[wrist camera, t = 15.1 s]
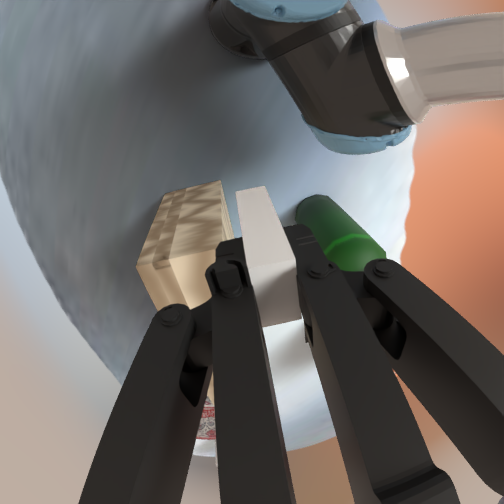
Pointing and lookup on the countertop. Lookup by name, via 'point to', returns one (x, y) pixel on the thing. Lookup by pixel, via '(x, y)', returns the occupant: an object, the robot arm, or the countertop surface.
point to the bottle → (338, 233)
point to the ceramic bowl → (207, 422)
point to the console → (184, 247)
